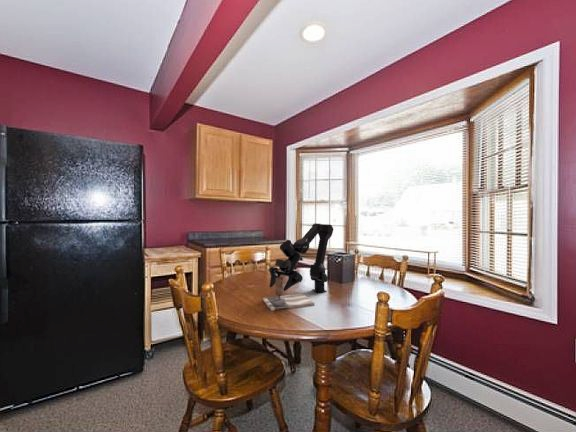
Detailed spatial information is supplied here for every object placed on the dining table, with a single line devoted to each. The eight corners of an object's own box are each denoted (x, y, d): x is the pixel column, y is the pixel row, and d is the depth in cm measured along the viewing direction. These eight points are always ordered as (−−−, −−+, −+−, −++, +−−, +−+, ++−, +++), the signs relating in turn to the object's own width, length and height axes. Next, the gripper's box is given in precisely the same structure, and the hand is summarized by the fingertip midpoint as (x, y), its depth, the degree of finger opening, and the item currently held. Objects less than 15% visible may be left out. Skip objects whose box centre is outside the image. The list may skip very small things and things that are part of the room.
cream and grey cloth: (263, 300, 146) (263, 297, 146) (302, 295, 153) (302, 293, 153) (271, 310, 131) (271, 308, 130) (314, 305, 138) (314, 302, 138)
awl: (273, 301, 139) (273, 276, 139) (285, 301, 139) (284, 276, 139) (273, 305, 134) (272, 279, 133) (284, 305, 134) (284, 279, 133)
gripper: (270, 251, 145) (255, 276, 137) (298, 254, 133) (283, 282, 125) (281, 263, 151) (266, 288, 143) (308, 268, 139) (294, 296, 131)
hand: (277, 288), depth 135 cm, fingers open, 9 cm apart
